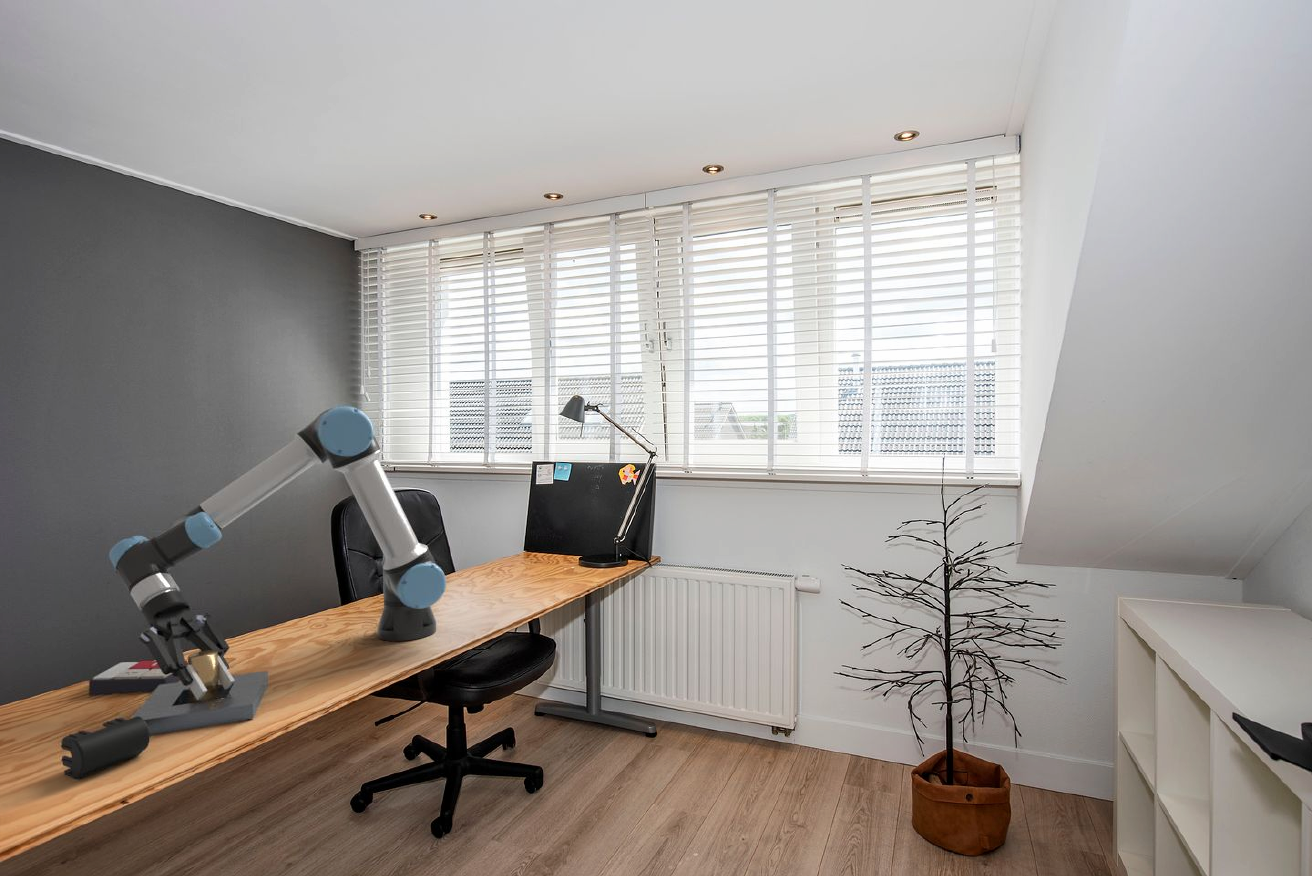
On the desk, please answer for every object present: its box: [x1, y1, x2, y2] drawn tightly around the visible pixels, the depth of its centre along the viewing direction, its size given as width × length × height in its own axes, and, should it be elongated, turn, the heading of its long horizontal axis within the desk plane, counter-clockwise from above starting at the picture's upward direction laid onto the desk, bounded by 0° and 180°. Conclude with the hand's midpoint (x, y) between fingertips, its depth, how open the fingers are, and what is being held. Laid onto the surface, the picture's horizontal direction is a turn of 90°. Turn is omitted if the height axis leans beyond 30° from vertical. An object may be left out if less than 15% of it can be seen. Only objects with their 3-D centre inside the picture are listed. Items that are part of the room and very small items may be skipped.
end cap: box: [60, 716, 151, 780], centre depth 116 cm, size 10×7×7 cm
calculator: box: [88, 660, 188, 697], centre depth 154 cm, size 11×4×15 cm
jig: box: [131, 670, 269, 736], centre depth 140 cm, size 20×20×3 cm
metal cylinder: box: [187, 650, 219, 704], centre depth 140 cm, size 5×5×10 cm
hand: (216, 689), depth 138 cm, fingers closed on metal cylinder, 5 cm apart
